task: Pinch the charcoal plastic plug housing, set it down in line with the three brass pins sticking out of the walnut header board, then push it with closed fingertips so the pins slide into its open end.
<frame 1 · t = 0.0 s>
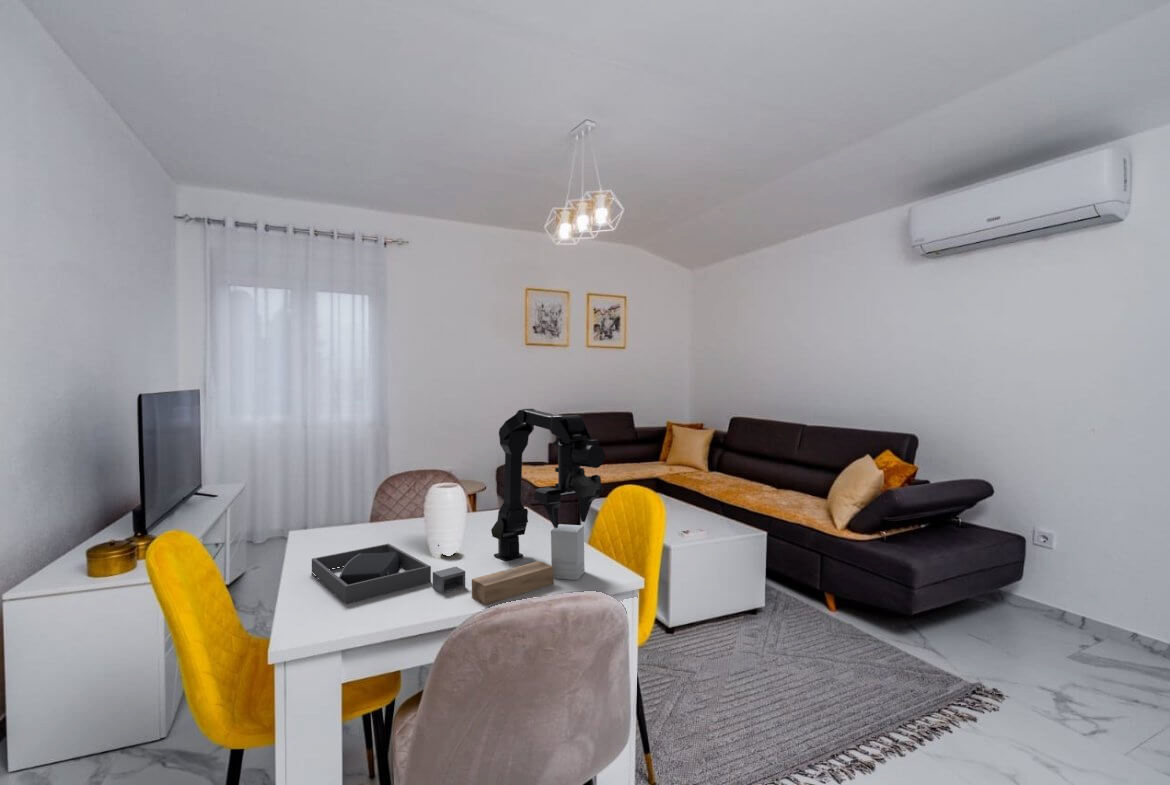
hand: (569, 524, 136), 15 cm above the table, tool pointing down, fingers open, 9 cm apart
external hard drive: (369, 577, 140), resting in bumper frame
bumper frame: (369, 577, 140), on the table
supplement box: (568, 575, 141), on the table
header: (514, 590, 130), on the table
plug housing: (449, 588, 132), on the table
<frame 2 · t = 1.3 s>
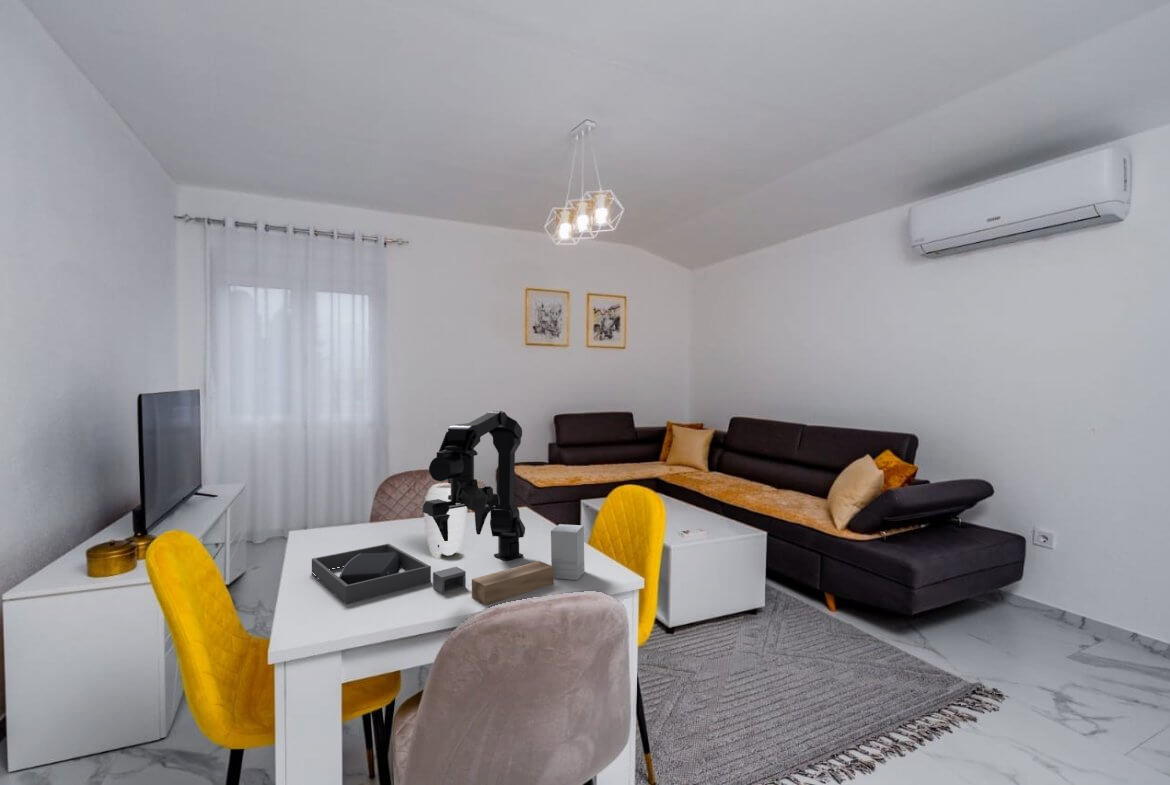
hand: (462, 537, 133), 12 cm above the table, tool pointing down, fingers open, 9 cm apart
nothing on the table moved.
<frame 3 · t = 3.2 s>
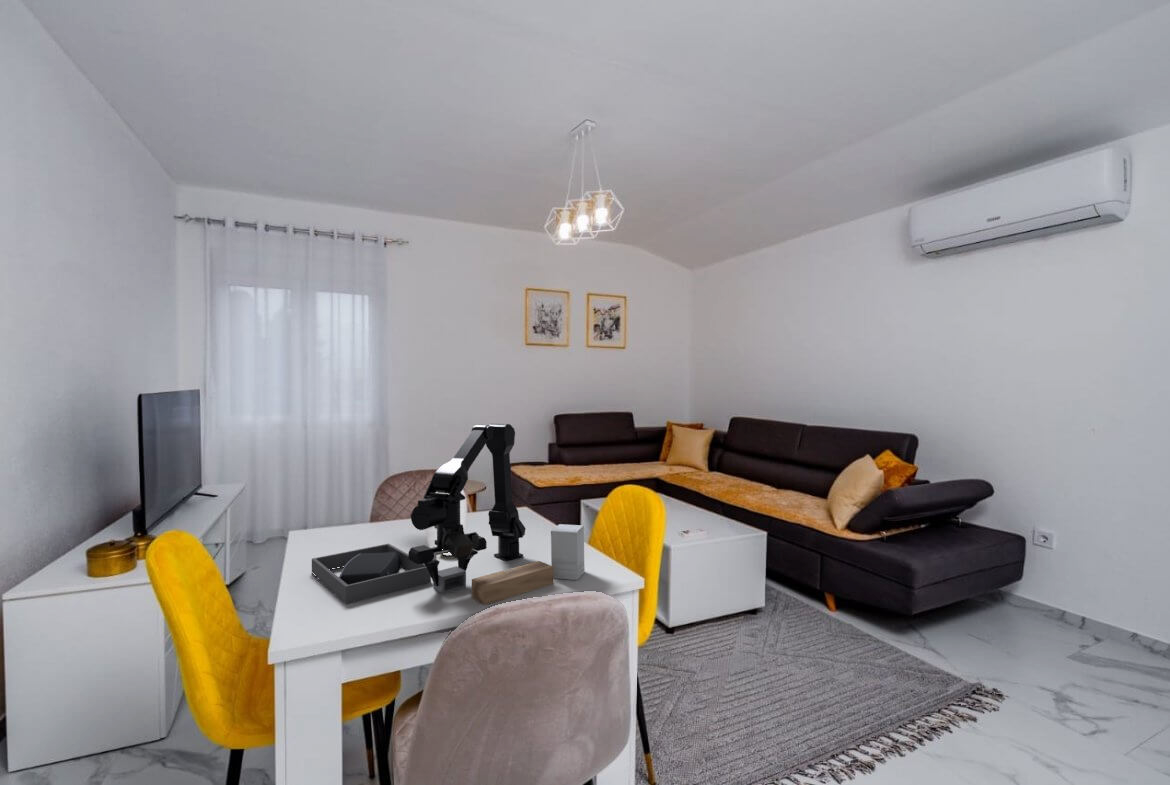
hand: (449, 582, 132), 1 cm above the table, tool pointing down, fingers closed on plug housing, 6 cm apart
plug housing: (449, 588, 132), on the table, touching gripper
everything else where it was.
when the fingers open (2 cm above the table, at t = 7.1 s): plug housing drops 1 cm, on the table.
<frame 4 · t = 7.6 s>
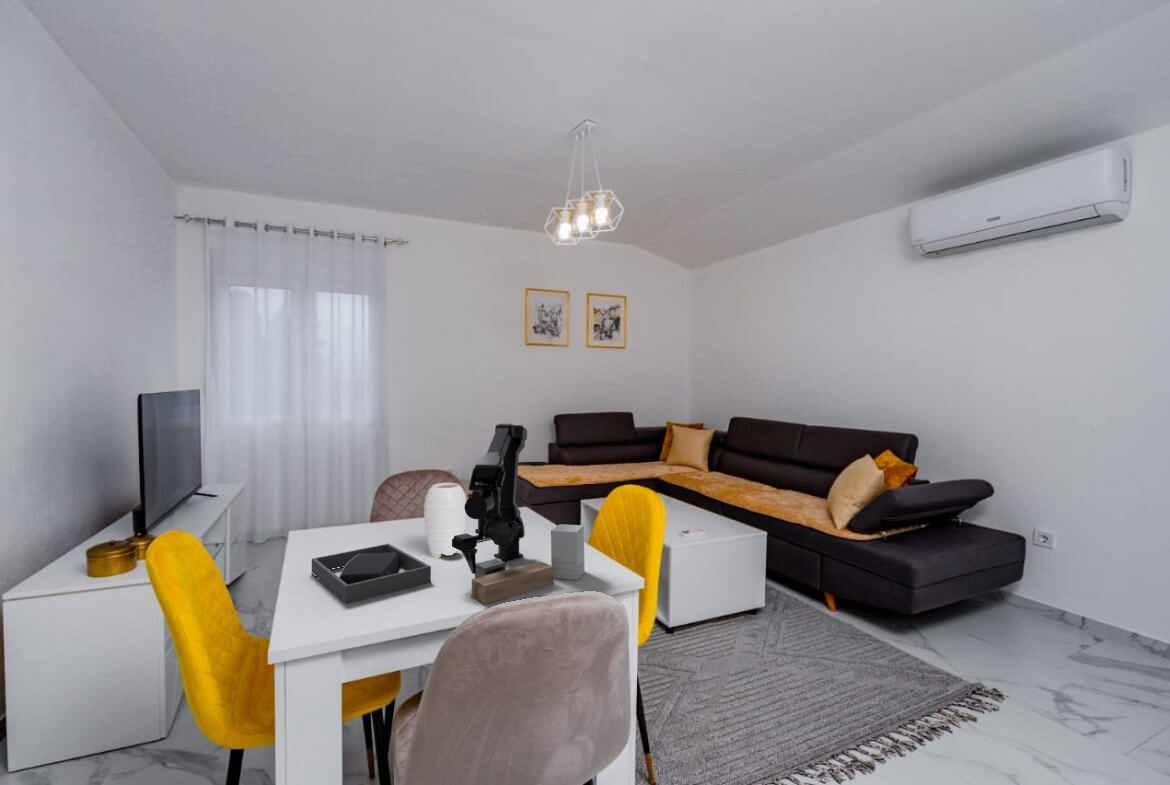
hand: (489, 569, 139), 2 cm above the table, tool pointing down, fingers open, 9 cm apart
plug housing: (490, 579, 139), on the table
everything else where it was.
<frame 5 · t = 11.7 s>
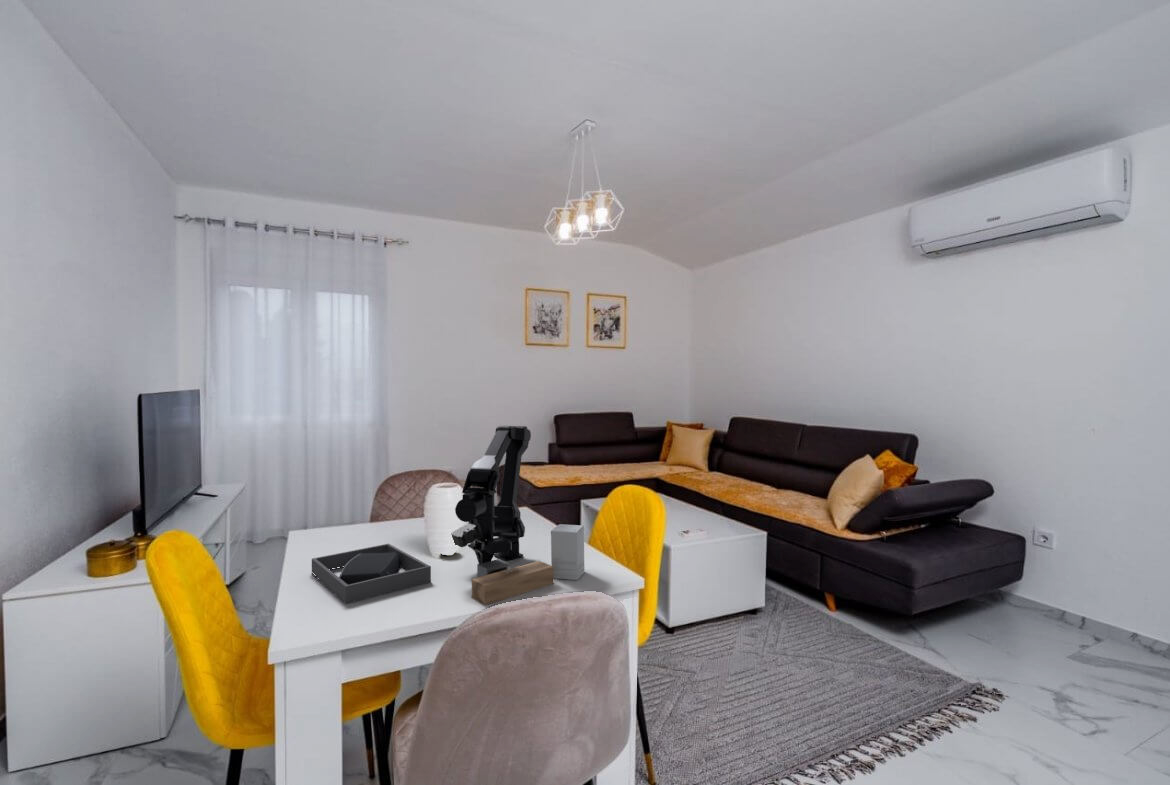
hand: (483, 571, 141), 1 cm above the table, tool pointing down, fingers closed
plug housing: (492, 580, 138), on the table, touching gripper
everything else where it was.
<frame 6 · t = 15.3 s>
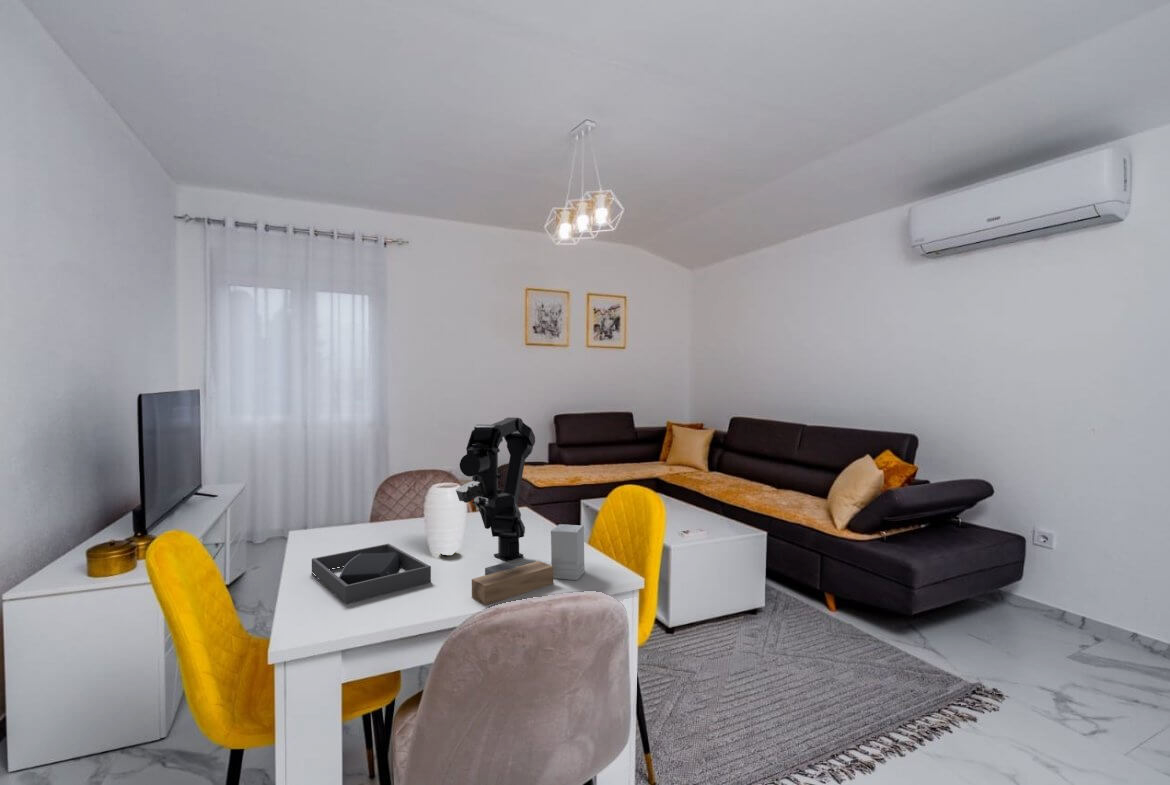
hand: (487, 528, 143), 12 cm above the table, tool pointing down, fingers closed
plug housing: (500, 583, 135), on the table
everything else where it was.
at the end: plug housing 0.8 cm from the target spot on the table beside the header, on the table; plug housing tilted 0° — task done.
